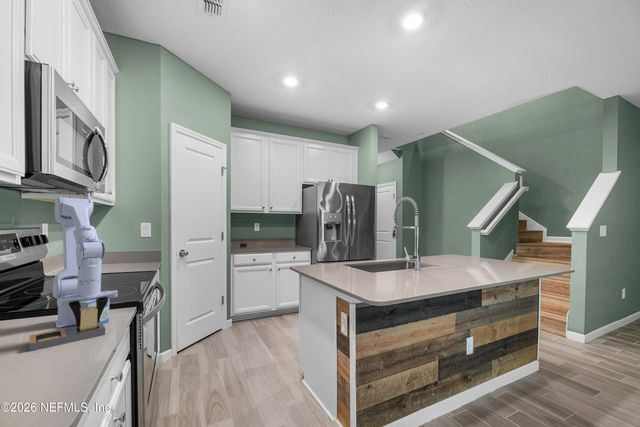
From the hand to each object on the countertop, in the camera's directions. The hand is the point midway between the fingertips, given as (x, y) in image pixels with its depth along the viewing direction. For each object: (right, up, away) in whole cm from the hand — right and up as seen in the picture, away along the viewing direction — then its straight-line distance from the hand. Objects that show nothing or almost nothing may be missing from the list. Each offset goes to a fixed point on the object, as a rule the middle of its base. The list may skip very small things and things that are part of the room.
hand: (87, 324), depth 88 cm
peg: (0, -3, 0) cm, 3 cm away
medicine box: (-5, -4, +9) cm, 11 cm away
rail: (-3, -3, -3) cm, 5 cm away
